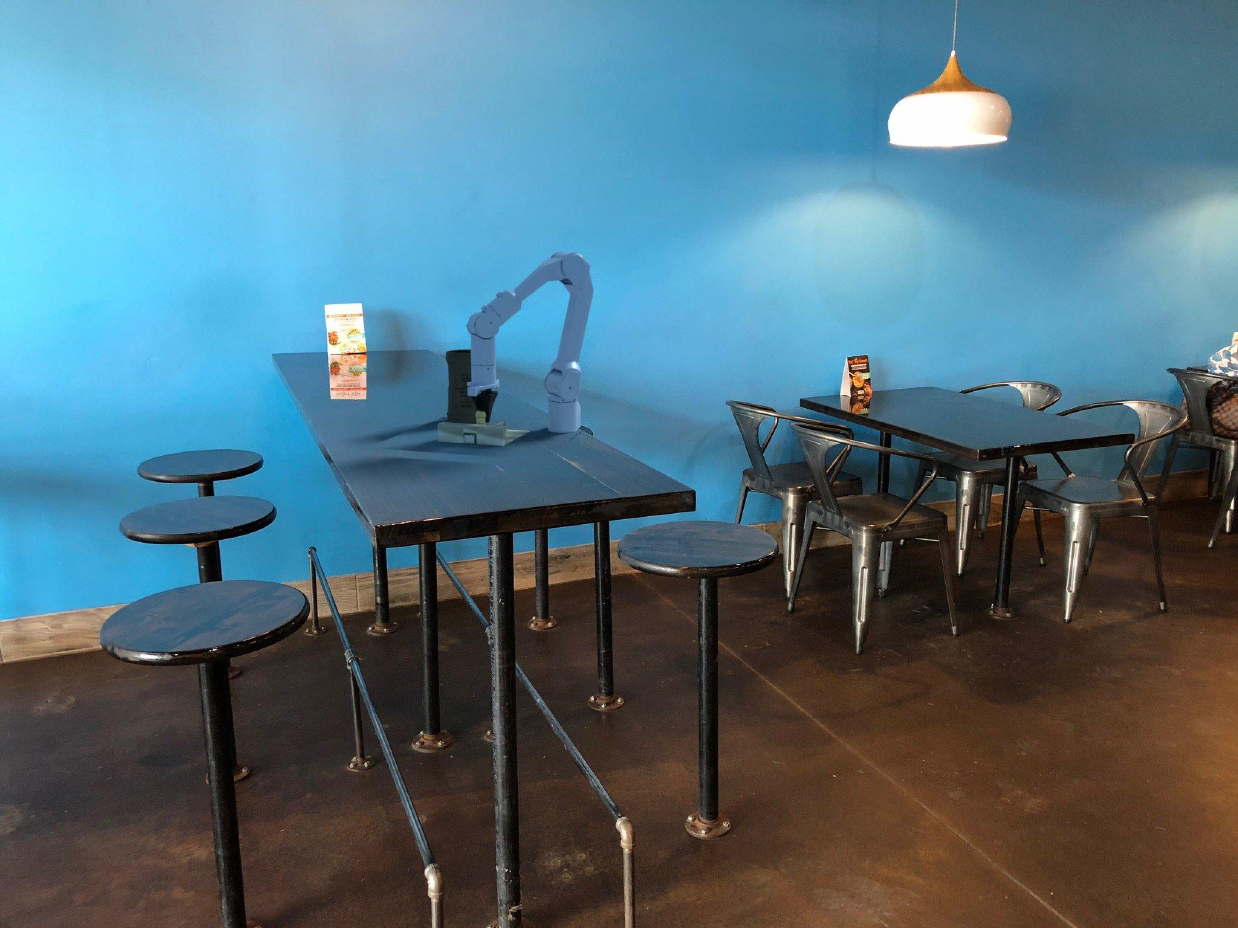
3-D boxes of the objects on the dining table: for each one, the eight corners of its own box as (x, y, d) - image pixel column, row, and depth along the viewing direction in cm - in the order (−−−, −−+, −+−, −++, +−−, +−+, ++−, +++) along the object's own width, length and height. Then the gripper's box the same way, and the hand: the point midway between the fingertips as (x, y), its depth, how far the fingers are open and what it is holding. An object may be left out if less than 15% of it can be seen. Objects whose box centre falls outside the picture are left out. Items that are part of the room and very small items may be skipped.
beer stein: (493, 430, 239) (491, 350, 236) (451, 432, 235) (448, 351, 232) (479, 423, 253) (477, 348, 250) (439, 425, 249) (436, 349, 246)
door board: (469, 433, 235) (468, 411, 234) (530, 437, 231) (530, 414, 230) (438, 447, 218) (437, 424, 217) (503, 452, 214) (502, 428, 213)
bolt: (478, 435, 223) (477, 408, 222) (488, 436, 223) (487, 409, 221) (464, 442, 216) (463, 414, 214) (474, 443, 215) (473, 415, 214)
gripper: (479, 360, 228) (480, 415, 231) (454, 367, 214) (456, 426, 217) (507, 361, 226) (508, 417, 229) (483, 369, 213) (484, 428, 216)
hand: (484, 422), depth 223 cm, fingers closed
